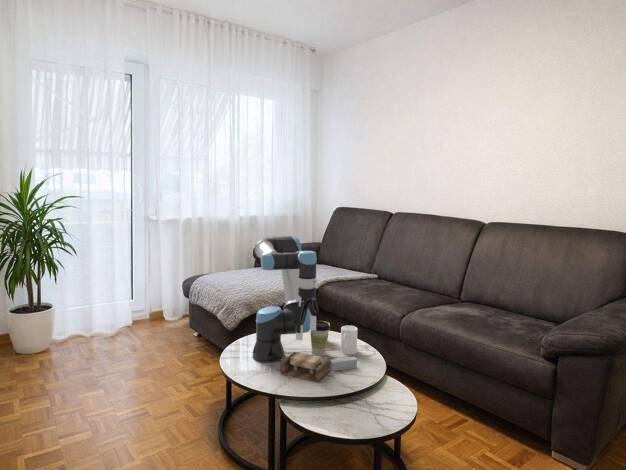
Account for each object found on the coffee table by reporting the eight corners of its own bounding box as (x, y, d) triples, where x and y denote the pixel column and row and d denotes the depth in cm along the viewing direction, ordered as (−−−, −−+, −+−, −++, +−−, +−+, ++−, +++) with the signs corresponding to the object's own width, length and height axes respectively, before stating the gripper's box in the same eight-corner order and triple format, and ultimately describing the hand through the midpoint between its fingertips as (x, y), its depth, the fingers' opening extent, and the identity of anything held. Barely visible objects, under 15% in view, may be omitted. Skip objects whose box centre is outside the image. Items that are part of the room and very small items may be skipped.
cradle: (281, 373, 185) (281, 361, 184) (294, 363, 195) (294, 352, 195) (318, 382, 177) (319, 369, 176) (330, 371, 188) (330, 359, 187)
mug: (349, 358, 202) (349, 334, 201) (333, 354, 207) (334, 330, 206) (360, 350, 212) (360, 327, 211) (345, 346, 217) (345, 324, 216)
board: (290, 364, 185) (290, 357, 185) (297, 358, 191) (297, 352, 191) (314, 369, 180) (315, 362, 180) (321, 363, 186) (321, 357, 186)
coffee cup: (314, 358, 201) (315, 328, 199) (304, 350, 210) (306, 321, 208) (332, 355, 206) (333, 325, 204) (322, 348, 214) (323, 319, 212)
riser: (332, 371, 188) (332, 362, 188) (329, 368, 191) (329, 359, 190) (356, 367, 192) (357, 359, 192) (353, 365, 195) (354, 356, 194)
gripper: (301, 294, 169) (301, 345, 172) (326, 282, 191) (325, 327, 194) (285, 292, 172) (284, 342, 175) (311, 280, 195) (310, 324, 197)
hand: (306, 334), depth 184 cm, fingers open, 13 cm apart
